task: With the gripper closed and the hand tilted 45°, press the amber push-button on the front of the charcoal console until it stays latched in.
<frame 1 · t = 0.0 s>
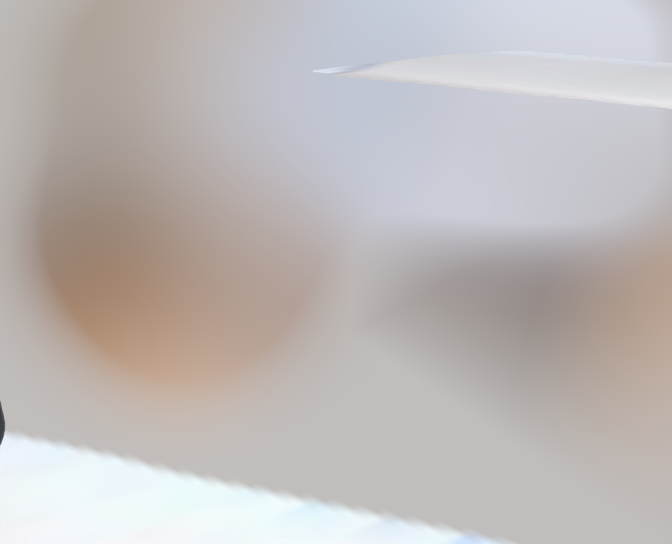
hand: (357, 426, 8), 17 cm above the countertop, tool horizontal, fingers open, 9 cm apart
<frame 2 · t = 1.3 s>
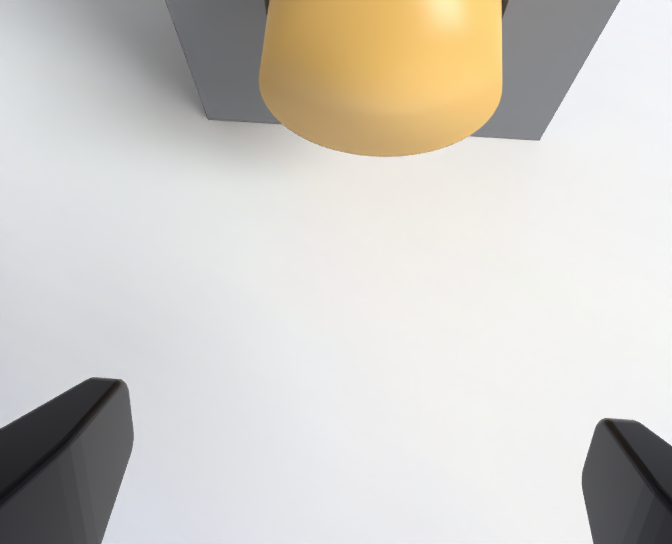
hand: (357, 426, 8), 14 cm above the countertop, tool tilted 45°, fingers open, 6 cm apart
button: (384, 0, 17), point 8 cm above the countertop, slide at 0.0 cm
console: (378, 45, 26), on the countertop
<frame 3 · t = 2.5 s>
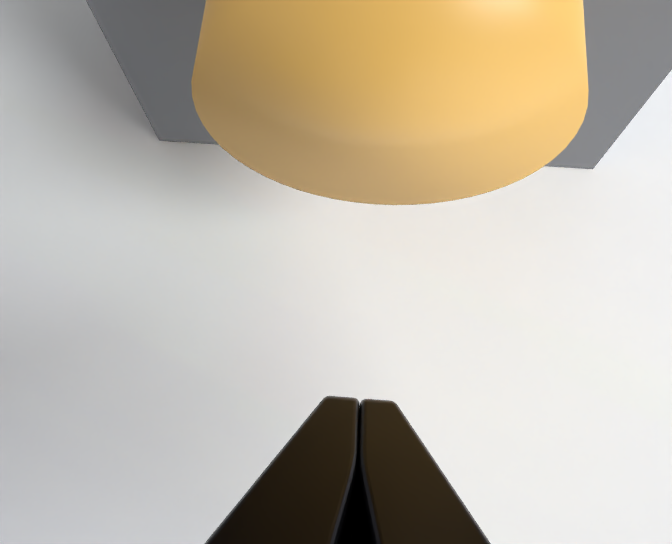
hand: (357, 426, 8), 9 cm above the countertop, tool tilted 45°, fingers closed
console: (381, 44, 20), on the countertop
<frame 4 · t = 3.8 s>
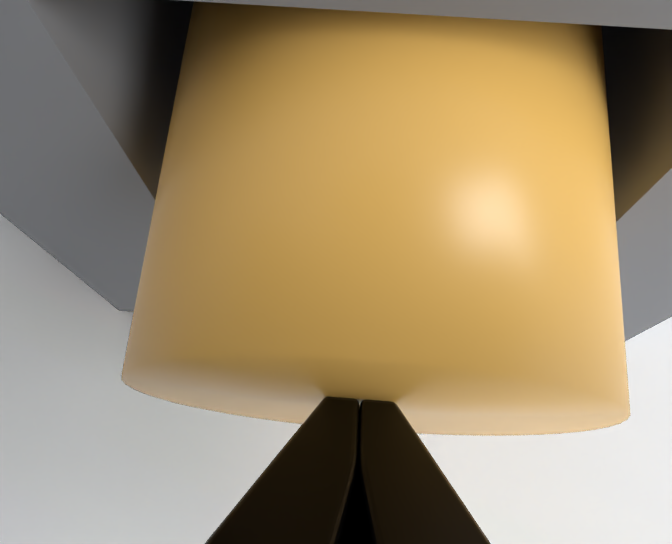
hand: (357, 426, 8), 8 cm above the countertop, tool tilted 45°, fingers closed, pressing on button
button: (381, 193, 9), point 8 cm above the countertop, slide at 1.0 cm, touching gripper
console: (371, 191, 18), on the countertop
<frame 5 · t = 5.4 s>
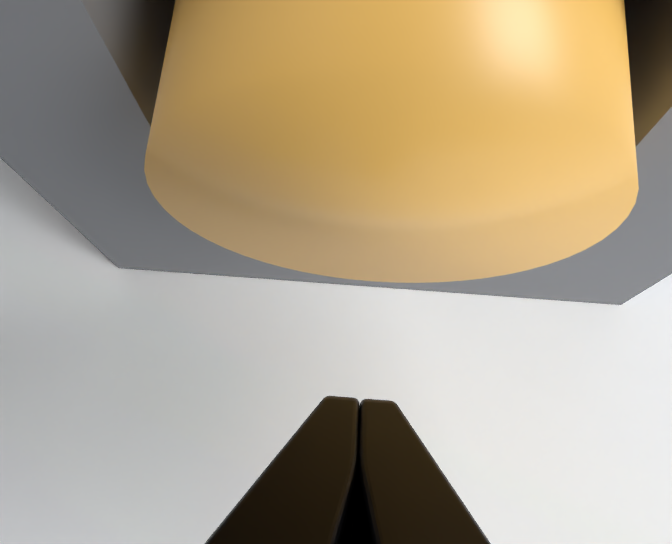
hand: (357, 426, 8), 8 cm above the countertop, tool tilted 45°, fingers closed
button: (394, 22, 9), point 8 cm above the countertop, slide at 2.6 cm
console: (375, 148, 17), on the countertop
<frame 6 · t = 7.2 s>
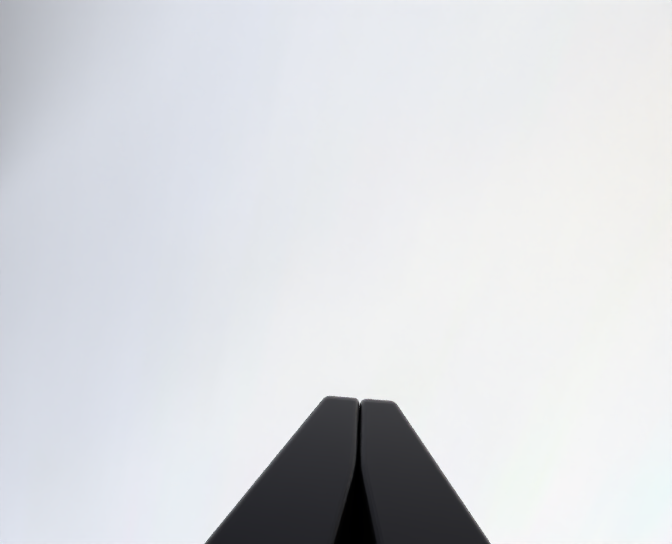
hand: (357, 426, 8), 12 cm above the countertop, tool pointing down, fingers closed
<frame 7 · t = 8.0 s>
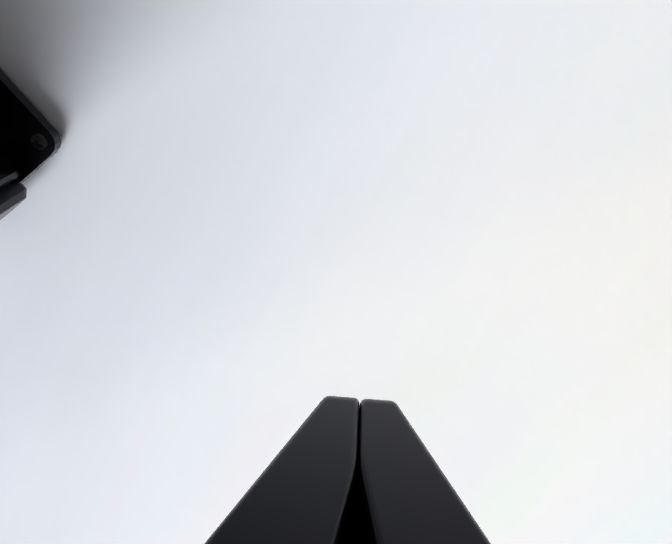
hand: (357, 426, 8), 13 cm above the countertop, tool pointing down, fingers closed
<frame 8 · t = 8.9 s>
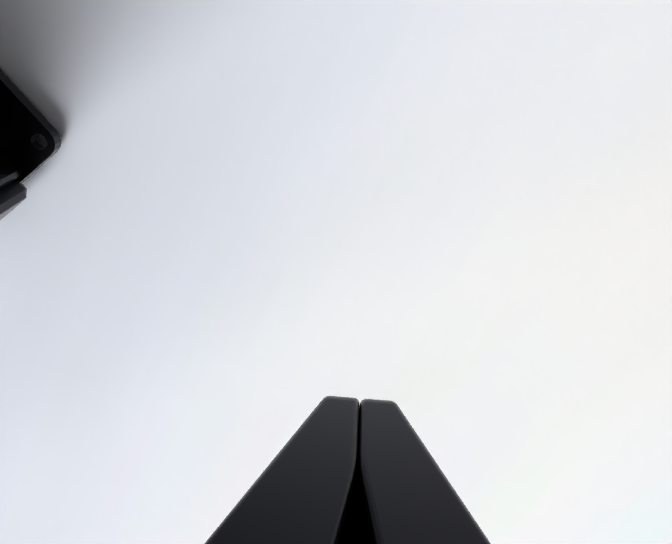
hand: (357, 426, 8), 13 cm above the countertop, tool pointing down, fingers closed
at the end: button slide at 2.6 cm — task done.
